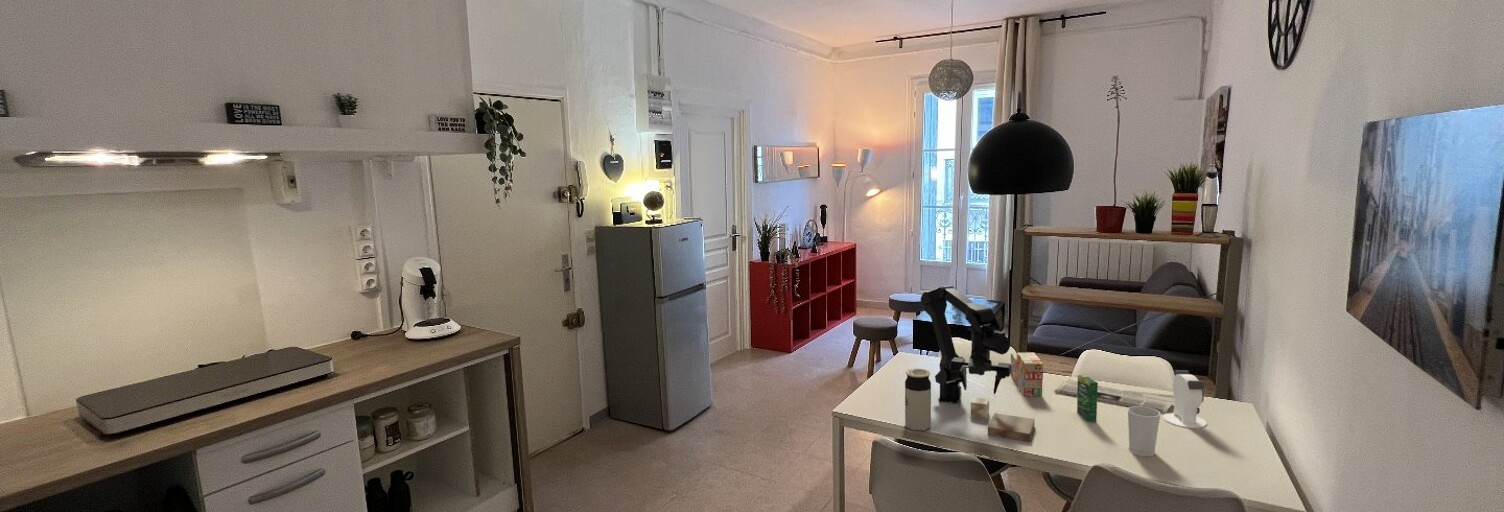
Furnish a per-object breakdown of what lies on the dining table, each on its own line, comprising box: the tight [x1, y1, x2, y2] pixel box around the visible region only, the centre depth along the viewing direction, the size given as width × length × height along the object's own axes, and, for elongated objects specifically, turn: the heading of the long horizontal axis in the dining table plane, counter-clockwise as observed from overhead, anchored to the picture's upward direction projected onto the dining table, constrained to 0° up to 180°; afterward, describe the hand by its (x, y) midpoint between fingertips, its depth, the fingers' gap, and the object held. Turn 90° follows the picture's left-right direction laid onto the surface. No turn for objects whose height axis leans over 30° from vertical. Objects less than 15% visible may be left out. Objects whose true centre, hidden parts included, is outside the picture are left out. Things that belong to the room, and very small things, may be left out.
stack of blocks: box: [1010, 352, 1044, 397], centre depth 242 cm, size 21×6×12 cm, turn 171°
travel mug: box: [904, 368, 932, 431], centre depth 210 cm, size 8×8×18 cm
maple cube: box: [970, 396, 990, 420], centre depth 218 cm, size 5×5×5 cm
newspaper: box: [1055, 379, 1175, 415], centre depth 228 cm, size 35×12×4 cm, turn 50°
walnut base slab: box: [987, 412, 1035, 443], centre depth 205 cm, size 12×12×2 cm
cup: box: [1127, 406, 1161, 457], centre depth 187 cm, size 8×8×12 cm
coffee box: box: [1076, 374, 1099, 423], centre depth 212 cm, size 8×3×13 cm, turn 0°
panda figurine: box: [1162, 369, 1207, 429], centre depth 206 cm, size 12×11×15 cm
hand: (979, 391), depth 217 cm, fingers open, 9 cm apart
